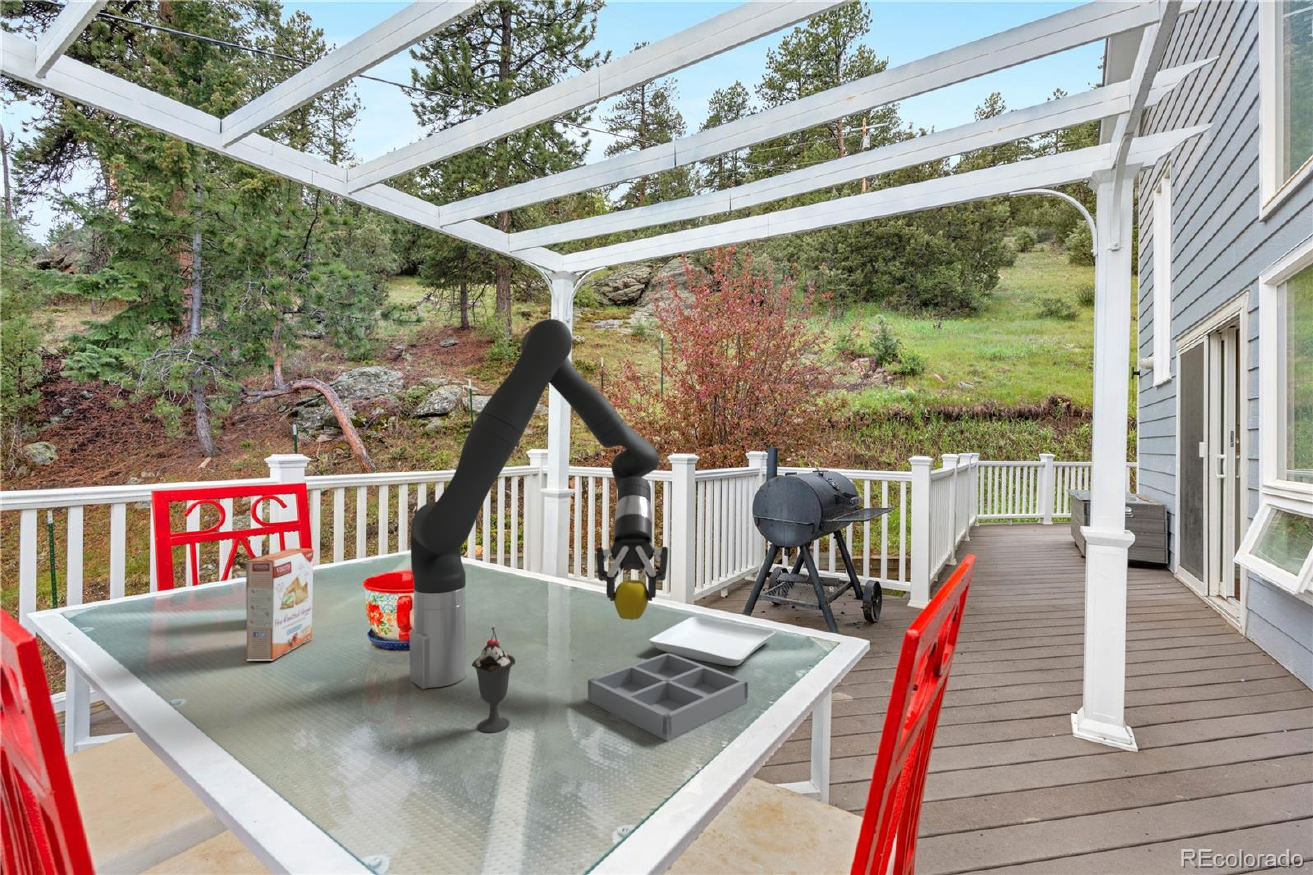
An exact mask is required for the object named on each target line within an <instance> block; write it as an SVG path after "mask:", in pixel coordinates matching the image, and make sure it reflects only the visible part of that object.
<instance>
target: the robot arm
mask: <svg viewBox="0 0 1313 875" xmlns="http://www.w3.org/2000/svg"><path fill="white" fill-rule="evenodd" d="M521 340H522V341H521V344H520V346H521V347H520V348H521V354H520V355H519V358H518V359H517V362H516V363H515V365H514V367H513V369H512V370H511V372H510V373H509V375H508V376H507V377H506V378H505V380H504V381H503V382H502V383H501V384H500V386H499V387H498V388H497V389H496V391H494V393H493V394H492V395H491V397H490V398H489V399H488V401H487V402H486V403H485V404H484V406H483V408H482V409H481V411H480V412H479V414H478V415H477V418H476V419H475V421H474V423H473V424H472V426H471V428H470V429H469V431H468V434H467V435H466V438H465V440H464V444H463V447H462V449H461V452H460V456H459V459H458V460H459V461H458V464H457V467H456V469H455V472H454V474H453V476H452V478H451V480H450V482H448V483H449V484H448V485H447V487H446V488H445V489H444V491H443V492H442V493H441V495H440V497H439V498H438V500H437V501H432V502H428V503H426V504H424V505H422V506H421V507H420V508H419V509H417V511H416V512H415V513H414V515H413V517H412V521H411V524H410V563H411V566H410V567H411V574H412V578H413V628H411V629H410V630H409V681H411V682H412V683H414V684H415V685H416V686H418V687H419V688H420V689H422V690H425V689H428V688H429V689H430V688H440V687H446V686H451V685H454V684H456V683H459V682H461V681H462V680H463V679H464V678H465V677H466V675H467V674H466V668H467V667H466V666H467V663H466V662H467V661H466V659H467V658H466V650H467V648H466V570H465V568H464V565H463V562H462V556H461V554H462V553H461V552H462V551H461V547H462V546H463V545H464V544H465V543H466V541H467V540H468V538H469V536H470V534H471V531H472V530H473V527H474V525H475V523H476V521H477V518H478V515H479V513H480V512H481V509H482V506H483V504H484V502H485V500H486V497H487V496H488V494H489V492H490V490H491V488H492V487H493V485H494V484H495V482H496V480H498V478H499V476H500V474H501V472H502V471H503V469H504V468H505V465H506V464H507V462H508V460H509V459H510V457H511V456H512V454H513V452H514V451H515V449H516V447H517V446H518V443H519V442H520V440H521V438H522V436H523V435H524V433H525V431H526V429H527V427H528V425H529V423H530V421H531V418H532V417H533V415H534V413H535V410H536V408H537V406H538V404H539V402H540V399H541V398H542V395H543V393H544V391H545V390H546V388H547V386H548V385H549V384H550V385H551V386H552V387H553V389H555V390H556V391H557V392H558V393H559V395H561V396H562V398H564V400H565V401H566V402H567V403H568V404H569V405H570V407H571V408H572V409H573V410H574V412H575V413H576V414H577V415H578V417H579V418H580V419H581V420H582V422H583V423H584V424H585V426H586V427H587V428H588V429H589V431H590V433H591V434H592V435H593V436H594V438H595V439H596V440H597V441H598V443H600V445H601V447H603V448H605V449H610V448H612V447H618V446H620V447H623V448H624V449H625V450H623V451H621V452H619V453H618V454H616V455H615V457H614V458H613V460H612V462H611V472H612V475H613V476H612V477H613V480H614V483H615V485H616V490H617V496H616V497H617V498H616V509H615V512H614V525H613V526H614V529H613V544H612V546H611V547H610V548H609V549H608V548H606V549H604V548H603V547H602V546H601V547H600V546H598V547H597V548H596V565H597V577H598V580H599V581H600V582H603V581H605V582H606V588H605V589H606V597H607V599H609V600H610V602H614V594H615V591H616V579H617V578H618V577H619V576H620V575H621V574H622V573H623V571H630V570H634V571H641V570H642V572H643V574H644V575H645V576H646V578H647V580H648V581H647V584H648V585H647V587H648V588H647V590H648V602H649V601H651V602H652V601H653V599H654V598H656V596H657V583H658V581H661V582H662V581H663V582H664V581H665V580H666V577H667V569H668V561H669V560H668V559H669V548H668V547H667V546H663V547H662V548H655V547H654V546H653V511H652V510H653V509H652V504H651V503H652V488H651V485H650V482H649V481H648V480H647V479H646V478H644V477H645V476H646V475H649V474H650V473H652V472H654V471H655V470H656V469H657V468H658V467H659V463H660V458H659V454H658V452H657V450H656V448H655V447H654V446H653V445H652V443H650V442H649V441H648V440H646V439H645V438H644V437H642V435H640V434H639V433H637V432H636V431H635V430H634V429H633V428H632V427H630V426H629V425H628V424H627V423H626V422H625V421H624V419H623V418H622V416H621V415H620V414H619V413H618V411H617V410H616V408H615V407H614V406H613V405H612V404H611V403H610V402H609V400H608V399H607V398H606V397H605V396H604V395H603V394H602V393H601V392H599V391H598V390H597V389H596V388H594V387H593V386H592V385H591V383H589V382H587V380H586V379H585V378H583V376H581V374H580V373H579V372H578V370H576V368H575V367H574V366H573V364H572V362H571V360H570V359H569V355H570V353H571V351H572V348H573V347H572V346H573V337H572V333H571V331H570V329H569V327H568V326H567V325H566V324H565V323H564V322H563V321H561V320H559V319H554V318H549V319H544V320H541V321H538V322H537V323H535V324H534V325H533V326H532V327H531V328H530V329H528V331H526V333H525V334H524V336H523V338H522V339H521ZM654 556H655V557H656V559H657V560H658V561H659V570H655V569H654V568H653V566H652V562H651V560H652V559H653V557H654ZM609 557H611V558H612V559H613V562H612V565H611V567H610V568H609V570H608V571H607V570H606V568H605V562H607V561H608V560H609Z"/></svg>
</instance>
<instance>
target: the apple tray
mask: <svg viewBox="0 0 1313 875" xmlns="http://www.w3.org/2000/svg"><path fill="white" fill-rule="evenodd" d="M748 683H749V681H747V680H746V679H743V678H739V677H736V676H734V675H731V674H728V673H725V672H724V671H720V670H718V669H715V668H712V667H709V666H706V665H703V664H700V663H698V662H695V661H693V660H690V659H687V658H685V657H682V656H677V655H674V654H671V653H669V652H665V653H663V654H660V655H657V656H654V657H651V658H648V659H646V660H642V661H639V662H637V663H634V664H631V665H628V666H625V667H622V668H619V669H616V670H613V671H610V672H608V673H607V672H606V673H604V674H602V675H600V676H596V677H593V678H590V679H587V701H588V702H589V703H592V704H593V705H595V706H597V707H600V708H601V709H603V710H605V711H606V712H609V713H611V714H613V715H615V716H617V717H619V718H620V719H623V720H625V722H626V721H627V722H629V723H630V724H633V725H634V726H636V727H638V728H640V729H642V730H644V731H646V732H648V733H650V734H652V735H654V736H656V737H658V738H660V739H662V740H664V741H665V742H669V741H671V740H673V739H675V738H678V737H680V736H681V735H683V734H685V733H688V732H689V731H691V730H694V729H696V728H698V727H700V726H702V725H704V724H705V723H708V722H710V721H712V720H714V719H716V718H719V717H720V716H723V715H724V714H726V713H729V712H731V711H733V710H735V709H737V708H739V707H741V706H743V705H745V704H748V702H749V701H748V700H749V693H748V692H749V691H748Z"/></svg>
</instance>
